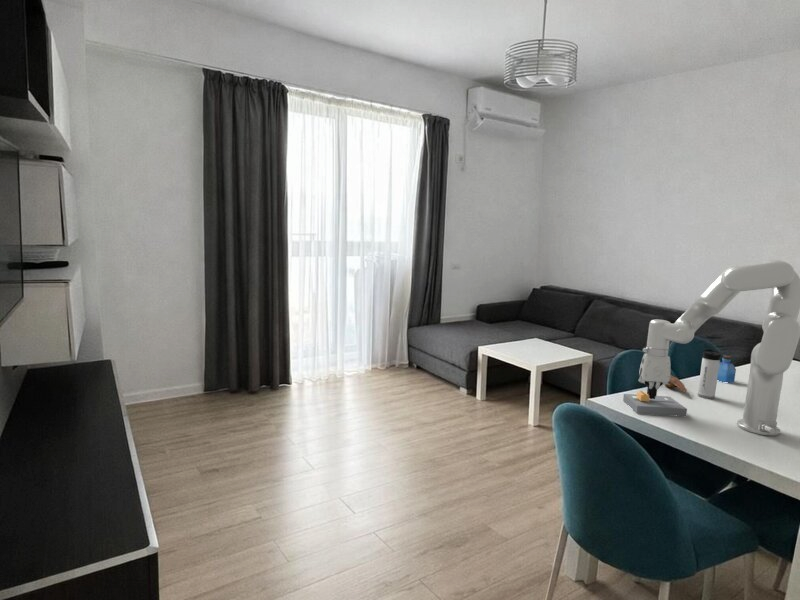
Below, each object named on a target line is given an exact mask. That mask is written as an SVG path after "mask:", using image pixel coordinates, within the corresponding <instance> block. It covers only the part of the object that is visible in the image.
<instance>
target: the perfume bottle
mask: <svg viewBox="0 0 800 600" xmlns="http://www.w3.org/2000/svg"><path fill="white" fill-rule="evenodd" d="M731 358H732V357H731V356H730V355H726V354H723V355H722V358H721V361H720V363H719V370H718V377H717V380H719V381H718V382H720V381H723V382H731V383H735V379H736V374H737V373H736V371H737V369H736V367H735V365H734V363H730V362H731V361H732V359H731ZM723 382H722V383H723Z"/></svg>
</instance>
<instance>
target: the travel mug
mask: <svg viewBox="0 0 800 600" xmlns="http://www.w3.org/2000/svg"><path fill="white" fill-rule="evenodd" d="M720 362H721V352H719V351H717V350H713V349H711V348H705V349H704V350H703V353H702V358H701V365H700V375H699V381H698V389H697V397H700V398H702V397H703V399H706V398H708V399H707V400H714V399H715V398H716V389H717V383H718V381H717V377H718V370H719V363H720Z"/></svg>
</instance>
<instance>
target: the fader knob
mask: <svg viewBox="0 0 800 600" xmlns="http://www.w3.org/2000/svg"><path fill="white" fill-rule="evenodd" d="M636 395H637V398H638V399H639V400H640V401H647V402H649V395H648V394H647V391H646V392H645V391H642V390H640V391H637V392H636Z"/></svg>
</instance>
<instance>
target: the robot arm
mask: <svg viewBox="0 0 800 600" xmlns="http://www.w3.org/2000/svg"><path fill="white" fill-rule="evenodd" d="M764 289H766V290H767V289H771V296H770V301H769V304H768V307H767V311H766V314H765V317H764V319H763V321H762V326H761V328H762V331H763V335H762V338H761V342H759V343H757V344H756V345H755V346H753V349H752V350H751V355H750V364H749V365H750V367H749V375H748V383H747V389H746V395H745V402H744V407H743V408H744V409H743V415H742V419H738V420H736V425H737V426H738V427H739V428H740V429H742V430H744V431H747V432H751V433H753V434H758V435H762V436H763V435H764V436H778V435H780V434H781V429H780V428H779V427H777V425H778V422H777V417H778V412H779V405H780V398H781V393H782V387H783V380H784V373H785V372H787V370H788V369H789V368H790V366H791V364H792V362H793V359H794V357H795V356H794V355H795V354H796V349H797V348H798V347H797V346H798V344H799V340H800V323H799V322H798V318H799V313H800V276H799V274H798V273H797V272H796V271H795V269H794V267H793V266H792V265H791V264H790V263H788V262H786V261H783V260H779V259H772V260H769V261H766V262H764V263H759V264H752V265H743V266H740V265H732V266H729V267H727V268H726V269H724V270H723V271H722V273H720V275H719V276H718V277H717V278H716V279H715V280H714V281H713V282H712V283H711V284H710V285H708V287H707V288H706V289H705V290H704V291H703V292H702V293H701V294H700V296H698V297H697V299H696V300H695V301H694V302H693V303H692V304H691V305H690V306H689V307H688V308H687V309H686V310H685V311H684V313H682V314H681V316H680V317H678V319H677V320H675V322H674V323H671V321H668V320H666V319H665V320H664V319H658V318H657V319H651V320H650V321H649V325H648V333H647V340H646V346H645V347H643V348H642V352H644V353H643V356H642V358H641V363H640V367H639V373H638V376H639V377H638V382H639V383H640V384H644V385H645V386H646V387H647V390H646V393H647V394H648V395H649V398H650V399H655V396H658V395H657V394H658V390H659V388H660V387H661V386H666V385H665V384H668V382H669V380H670V374H671V373H672V372H671V371H672V369H671V364H672V363H671V356H670V355H669V347H670V342H674V343H677V344H689V343H690V342H691V341H692V340H693V339H694V337H695V333H696V332H697V330H699V328H700V327H701V326H702V325H704V323H706V321H708V320H709V319H710V318H713V316H716V315H717V314H719V313H720V312H721V311H723V310H724V309H725V308H726V307H727V306H728V305H729V304H730V303H731V302H732V301H733V300H734V299H735V297H737V296H738V295H739V294H740V293H741V292H747V291H748V292H751V291H757V290H764Z"/></svg>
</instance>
